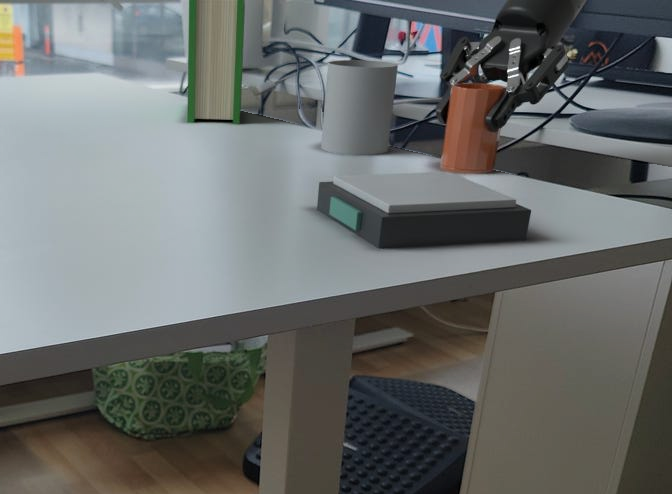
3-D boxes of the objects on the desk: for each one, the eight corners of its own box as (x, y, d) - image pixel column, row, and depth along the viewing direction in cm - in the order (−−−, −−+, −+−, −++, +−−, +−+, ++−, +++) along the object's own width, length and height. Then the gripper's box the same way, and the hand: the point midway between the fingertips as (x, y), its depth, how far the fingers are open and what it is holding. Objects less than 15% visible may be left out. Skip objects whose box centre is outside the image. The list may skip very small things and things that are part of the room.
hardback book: (239, 125, 136) (246, -71, 124) (187, 124, 136) (190, -72, 124) (240, 107, 151) (247, -69, 139) (194, 106, 152) (197, -70, 140)
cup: (315, 153, 118) (322, 65, 113) (326, 142, 125) (333, 59, 120) (383, 158, 116) (393, 68, 111) (391, 147, 123) (401, 62, 118)
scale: (447, 205, 95) (453, 169, 93) (525, 242, 83) (533, 201, 81) (312, 212, 91) (315, 174, 90) (373, 251, 80) (378, 208, 78)
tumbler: (476, 164, 114) (489, 82, 109) (503, 174, 109) (518, 89, 104) (430, 166, 113) (442, 83, 108) (455, 176, 108) (469, 90, 103)
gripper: (611, 32, 106) (529, 155, 105) (500, 24, 115) (424, 136, 115) (596, -22, 100) (510, 107, 100) (481, -27, 110) (402, 92, 109)
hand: (464, 122), depth 107 cm, fingers closed on tumbler, 6 cm apart
